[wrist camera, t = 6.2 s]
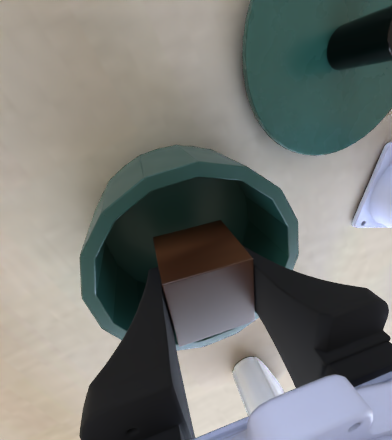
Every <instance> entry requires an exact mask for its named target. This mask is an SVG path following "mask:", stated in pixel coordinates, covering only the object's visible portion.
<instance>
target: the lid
mask: <svg viewBox="0 0 392 440" xmlns="http://www.w3.org/2000/svg"><path fill="white" fill-rule="evenodd" d="M242 61H243V76H244V82H245V88H246V92H247V96H248V99H249V103H250V105H251V108H252V110H253V113H254V115H255V117H256V119H257V120H258V122H259V124H260V125H261V127H262V128H263V129H264V131H265V132H266V133H267V134H268V136H269V137H271V138H272V139H273V140H274V141H275V142H276V143H277V144H279V145H281V146H282V147H284V148H285V149H288V150H290V151H293V152H296V153H300V154H304V155H315V156H316V155H326V154H330V153H334V152H337V151H339V150H342V149H344V148H347V147H348V146H350V145H352V144H354V143H356V142H357V141H358V140H360V139H361V138H363V137H364V136H365V135H367V134H368V133H369V132H370V131H371V130H372V129H374V128H375V127H376V126H377V125H378V124H379V123H380V122H381V120H382V119H383V118H384V117H385V116H386V115H387V113H388V112H389V111H390V110H391V108H392V0H250V4H249V9H248V13H247V17H246V22H245V29H244V36H243V51H242Z"/></svg>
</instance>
